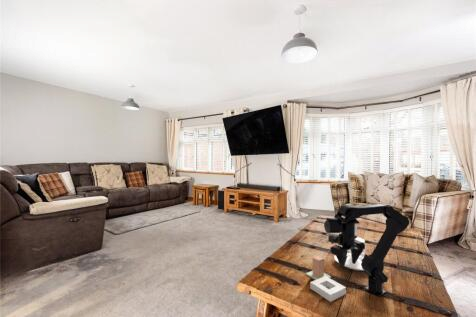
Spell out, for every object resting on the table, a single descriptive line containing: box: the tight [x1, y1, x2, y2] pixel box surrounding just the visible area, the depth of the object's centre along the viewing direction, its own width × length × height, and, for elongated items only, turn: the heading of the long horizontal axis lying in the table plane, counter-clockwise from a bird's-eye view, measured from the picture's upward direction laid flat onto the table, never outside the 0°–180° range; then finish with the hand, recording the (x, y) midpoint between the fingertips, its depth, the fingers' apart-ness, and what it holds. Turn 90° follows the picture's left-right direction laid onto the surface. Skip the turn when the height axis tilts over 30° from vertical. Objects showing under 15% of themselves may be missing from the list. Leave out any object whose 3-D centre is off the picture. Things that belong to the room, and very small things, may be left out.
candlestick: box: [333, 224, 367, 271], centre depth 123 cm, size 21×25×28 cm
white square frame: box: [309, 276, 347, 303], centre depth 98 cm, size 11×11×3 cm
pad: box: [305, 270, 332, 280], centre depth 111 cm, size 9×9×1 cm
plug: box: [312, 255, 325, 278], centre depth 111 cm, size 4×4×9 cm
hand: (348, 265), depth 98 cm, fingers open, 9 cm apart
